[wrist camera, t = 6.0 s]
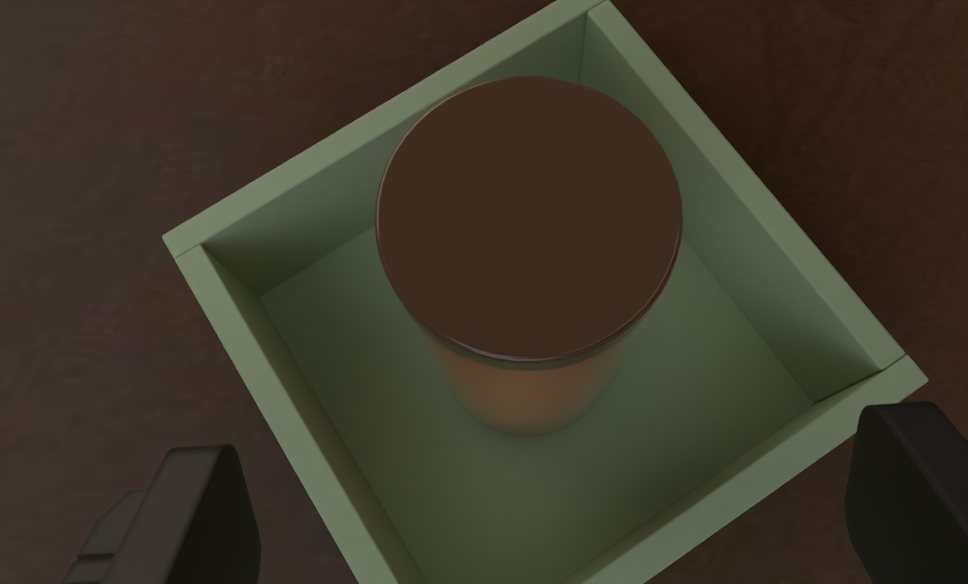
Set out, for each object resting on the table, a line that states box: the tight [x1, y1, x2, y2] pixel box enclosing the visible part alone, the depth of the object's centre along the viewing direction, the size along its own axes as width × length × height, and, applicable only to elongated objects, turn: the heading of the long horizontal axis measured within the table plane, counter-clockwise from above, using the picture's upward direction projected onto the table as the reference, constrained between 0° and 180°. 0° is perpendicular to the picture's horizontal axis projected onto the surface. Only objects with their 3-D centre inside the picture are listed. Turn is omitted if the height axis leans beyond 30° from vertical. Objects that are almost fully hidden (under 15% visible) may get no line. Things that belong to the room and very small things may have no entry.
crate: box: [162, 0, 928, 584], centre depth 21 cm, size 12×12×5 cm
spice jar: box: [374, 76, 683, 437], centre depth 18 cm, size 5×5×10 cm
